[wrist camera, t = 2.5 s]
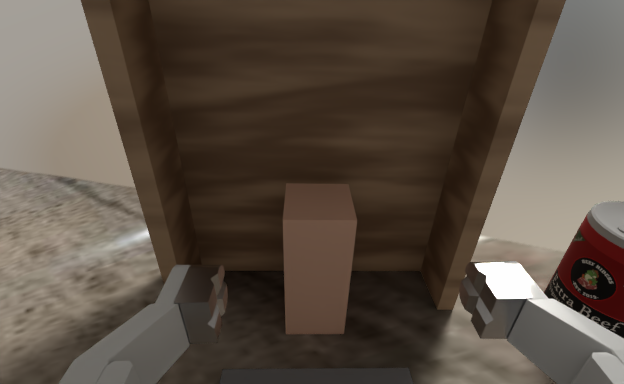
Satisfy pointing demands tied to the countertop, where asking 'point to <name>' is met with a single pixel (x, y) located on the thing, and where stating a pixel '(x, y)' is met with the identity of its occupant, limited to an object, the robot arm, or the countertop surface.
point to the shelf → (320, 120)
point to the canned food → (595, 268)
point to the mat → (317, 376)
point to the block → (317, 256)
